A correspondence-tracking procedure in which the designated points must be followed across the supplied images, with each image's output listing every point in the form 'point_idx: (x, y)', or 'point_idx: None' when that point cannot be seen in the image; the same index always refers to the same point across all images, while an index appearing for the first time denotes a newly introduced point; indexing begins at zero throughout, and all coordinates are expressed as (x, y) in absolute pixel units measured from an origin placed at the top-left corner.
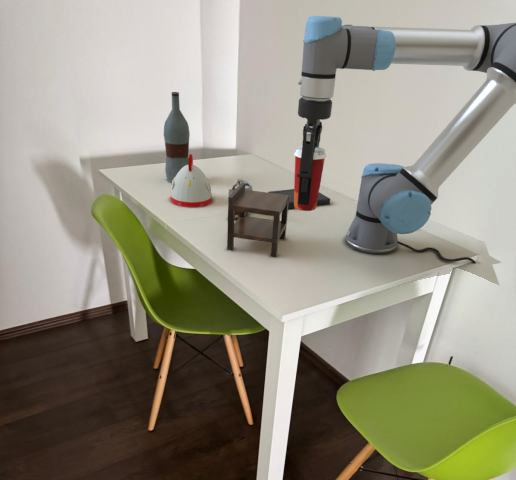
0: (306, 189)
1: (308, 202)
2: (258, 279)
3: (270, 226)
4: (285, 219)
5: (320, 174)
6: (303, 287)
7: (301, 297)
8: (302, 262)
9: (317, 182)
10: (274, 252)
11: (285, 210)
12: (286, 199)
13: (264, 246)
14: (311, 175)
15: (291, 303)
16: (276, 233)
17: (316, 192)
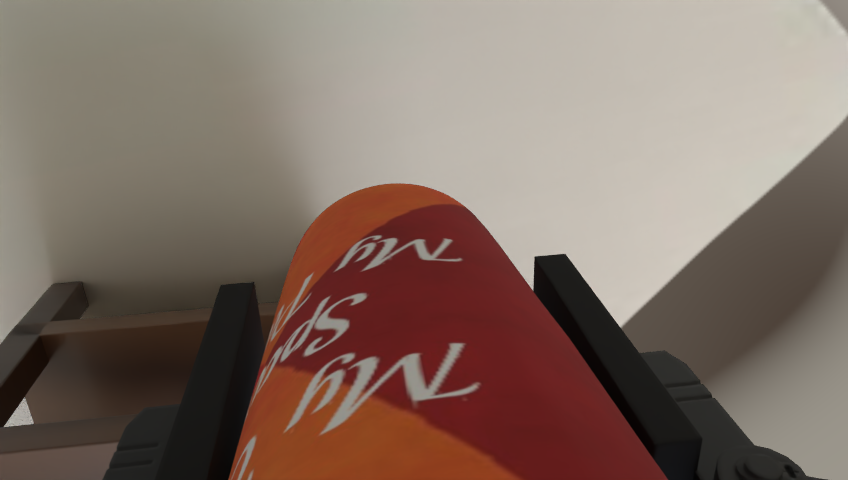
0: (689, 376)
1: (572, 270)
2: (587, 264)
3: (149, 395)
4: (31, 354)
5: (538, 373)
6: (612, 49)
7: (714, 36)
8: (325, 119)
9: (536, 325)
10: None
11: (2, 396)
12: (16, 453)
13: None
14: (770, 472)
15: (776, 69)
16: None
17: (489, 258)
